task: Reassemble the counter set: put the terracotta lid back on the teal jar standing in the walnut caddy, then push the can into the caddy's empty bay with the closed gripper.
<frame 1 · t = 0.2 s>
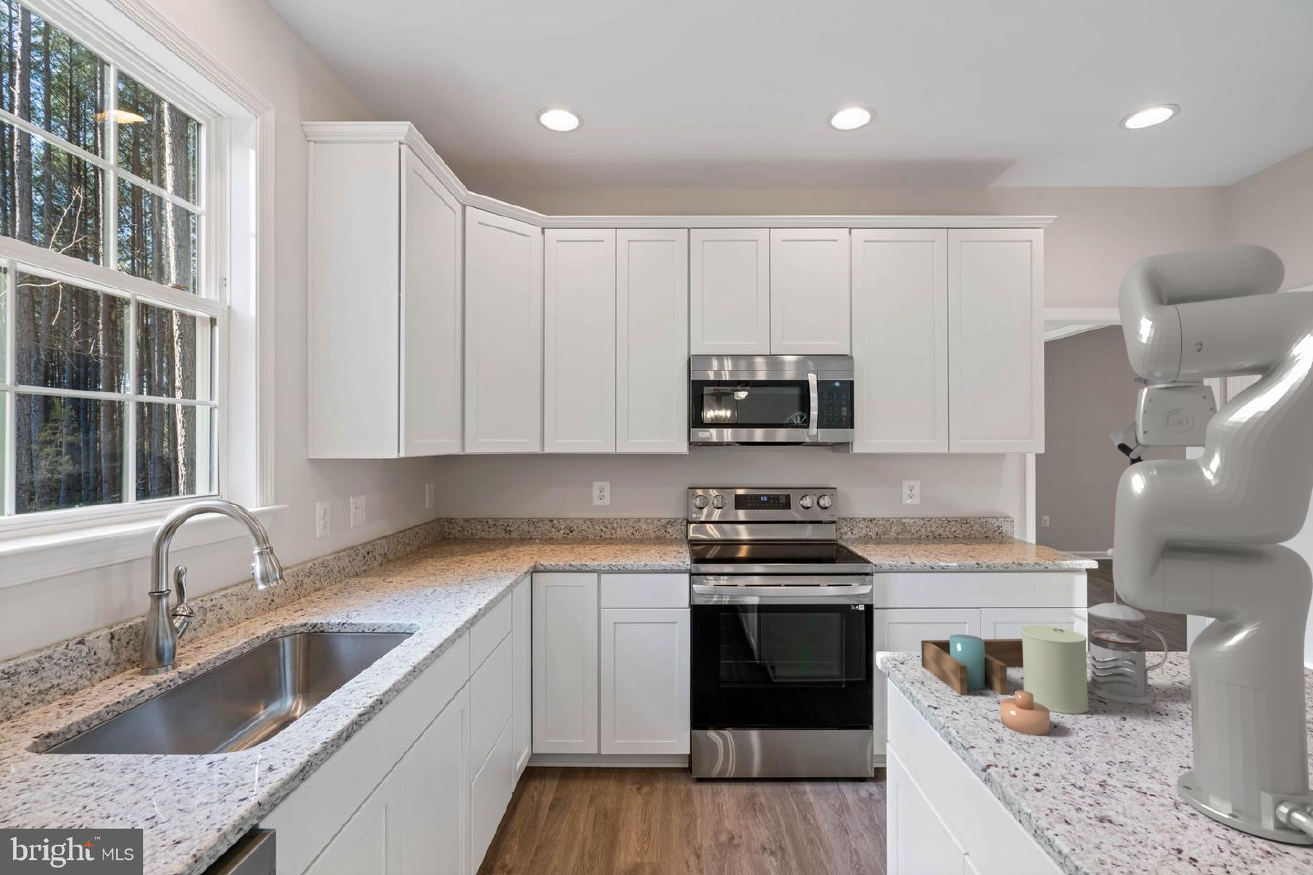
hand: (1176, 482, 96), 37 cm above the countertop, tool pointing down, fingers open, 9 cm apart
french press: (1124, 694, 101), on the countertop
can: (1055, 703, 98), on the countertop
caddy: (996, 678, 108), on the countertop
jar: (967, 683, 106), on the countertop
lid: (1025, 726, 89), on the countertop
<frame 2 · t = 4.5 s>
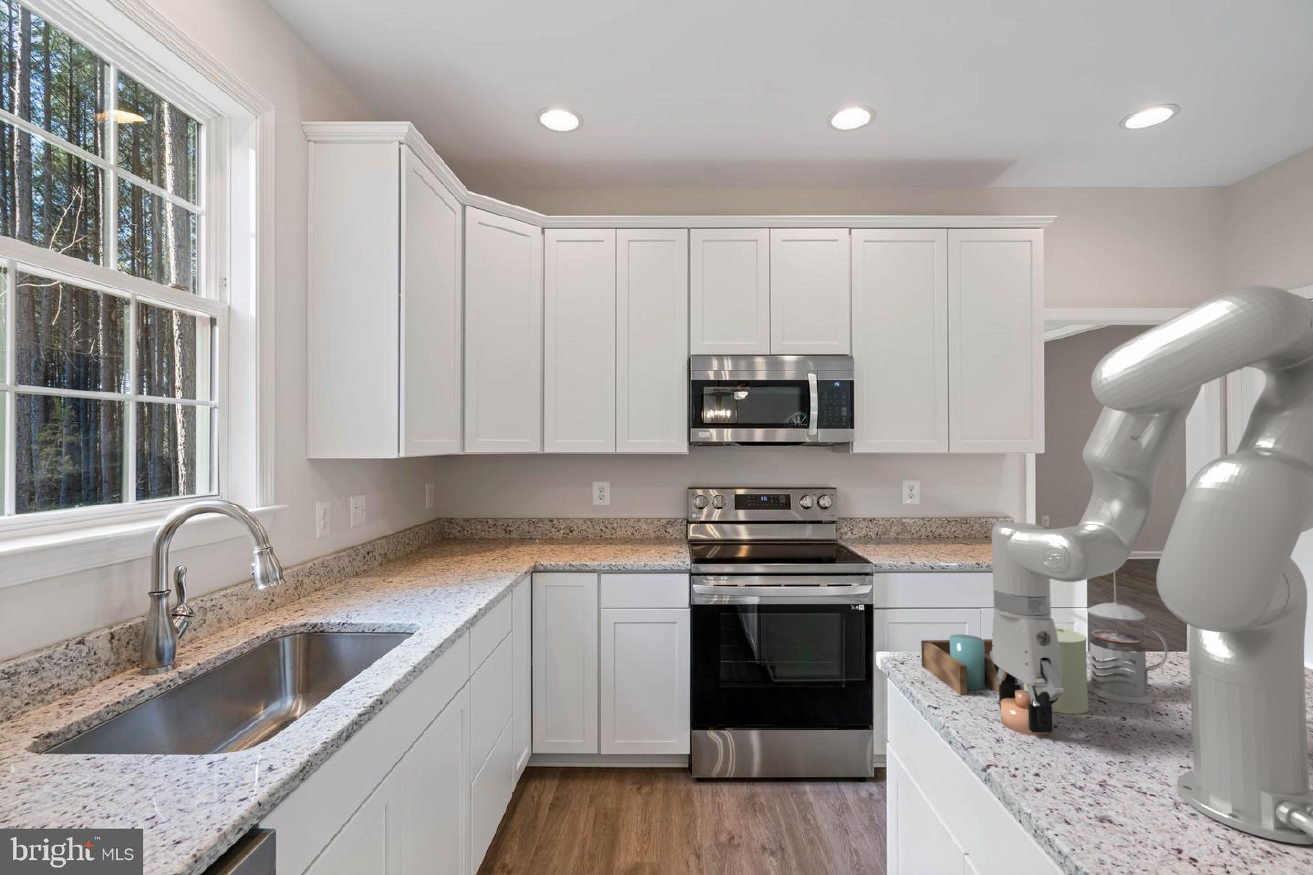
hand: (1024, 719, 89), 1 cm above the countertop, tool pointing down, fingers closed on lid, 6 cm apart
lid: (1025, 725, 89), on the countertop, touching gripper
everything else where it was.
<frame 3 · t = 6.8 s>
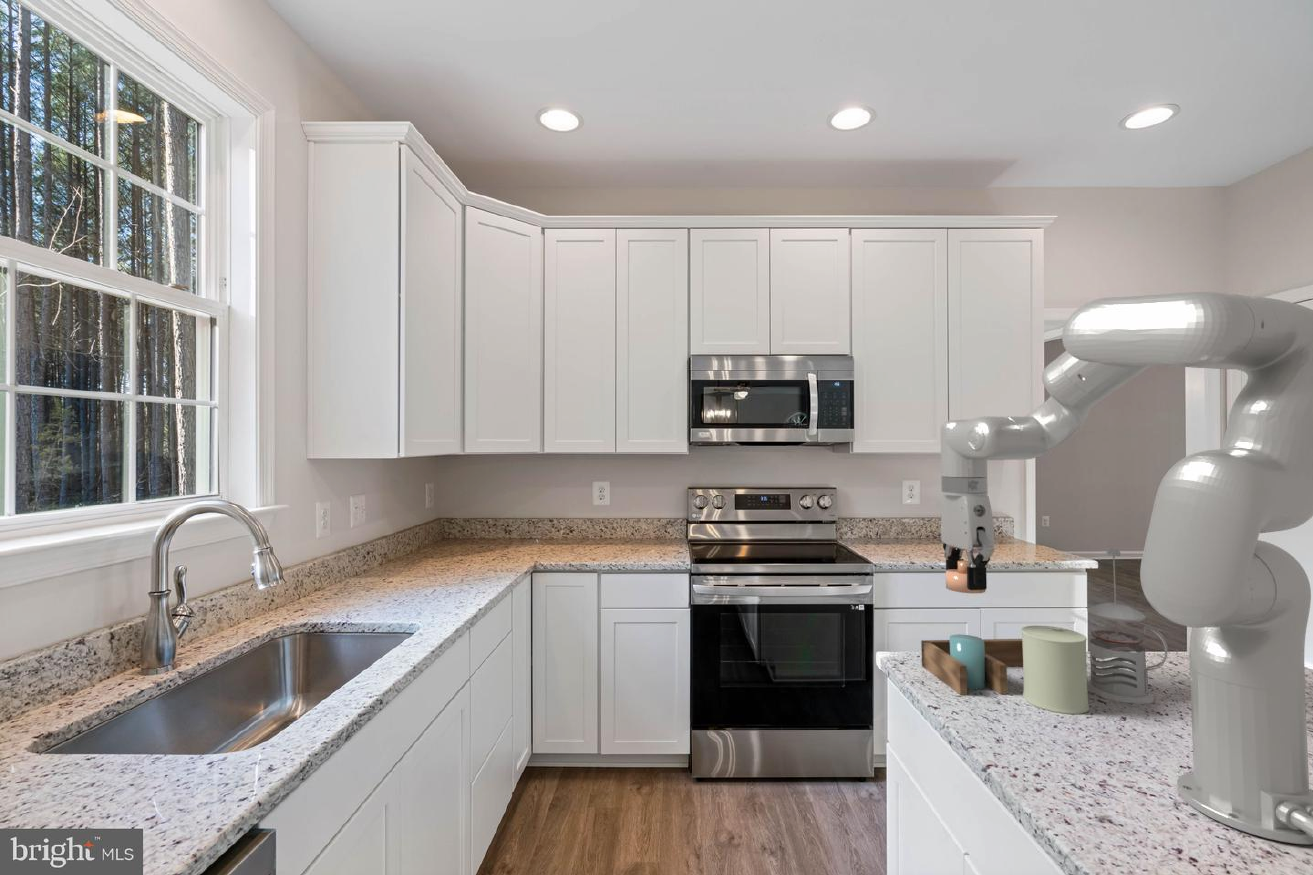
hand: (965, 583, 106), 18 cm above the countertop, tool pointing down, fingers closed on lid, 6 cm apart
lid: (965, 589, 106), point 17 cm above the countertop, touching gripper
everything else where it was.
when the fingers open (10 cm above the countertop, at t = 9.2 s): lid stays where it is, resting on jar.
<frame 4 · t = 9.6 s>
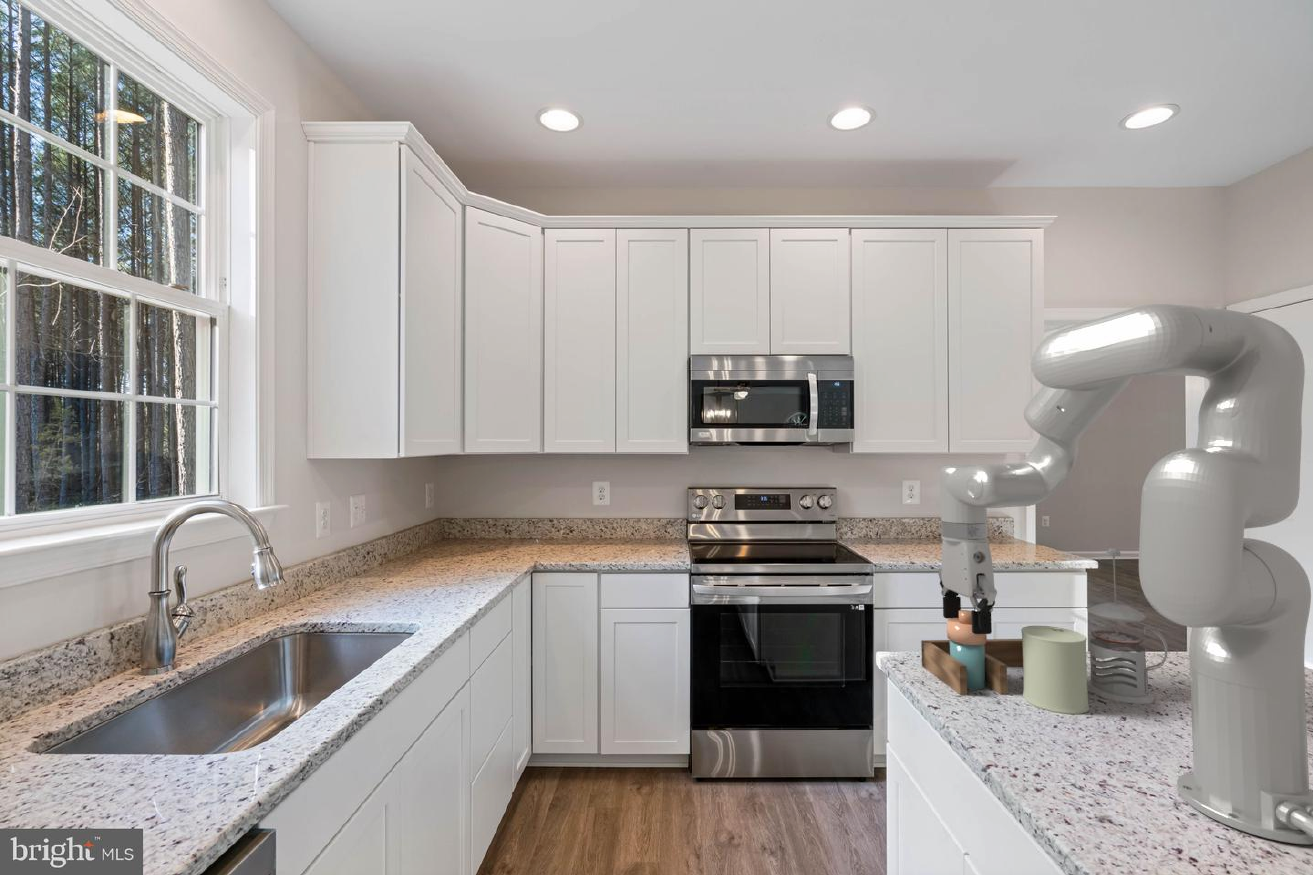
hand: (966, 625, 106), 11 cm above the countertop, tool pointing down, fingers open, 9 cm apart
lid: (966, 639, 106), point 8 cm above the countertop, touching jar
everything else where it was.
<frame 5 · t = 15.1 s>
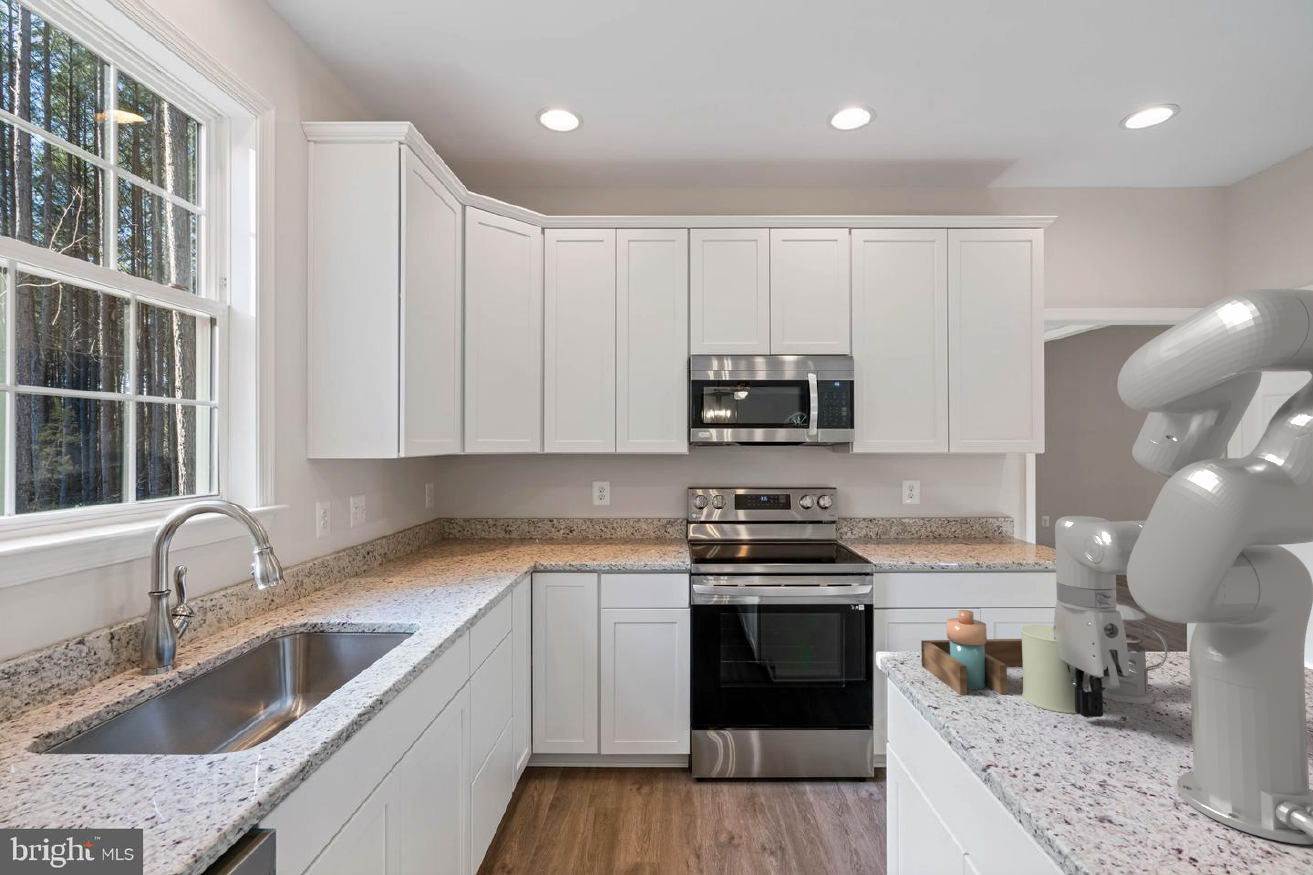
hand: (1088, 714, 90), 1 cm above the countertop, tool pointing down, fingers closed
can: (1054, 702, 98), on the countertop, touching gripper
everything else where it was.
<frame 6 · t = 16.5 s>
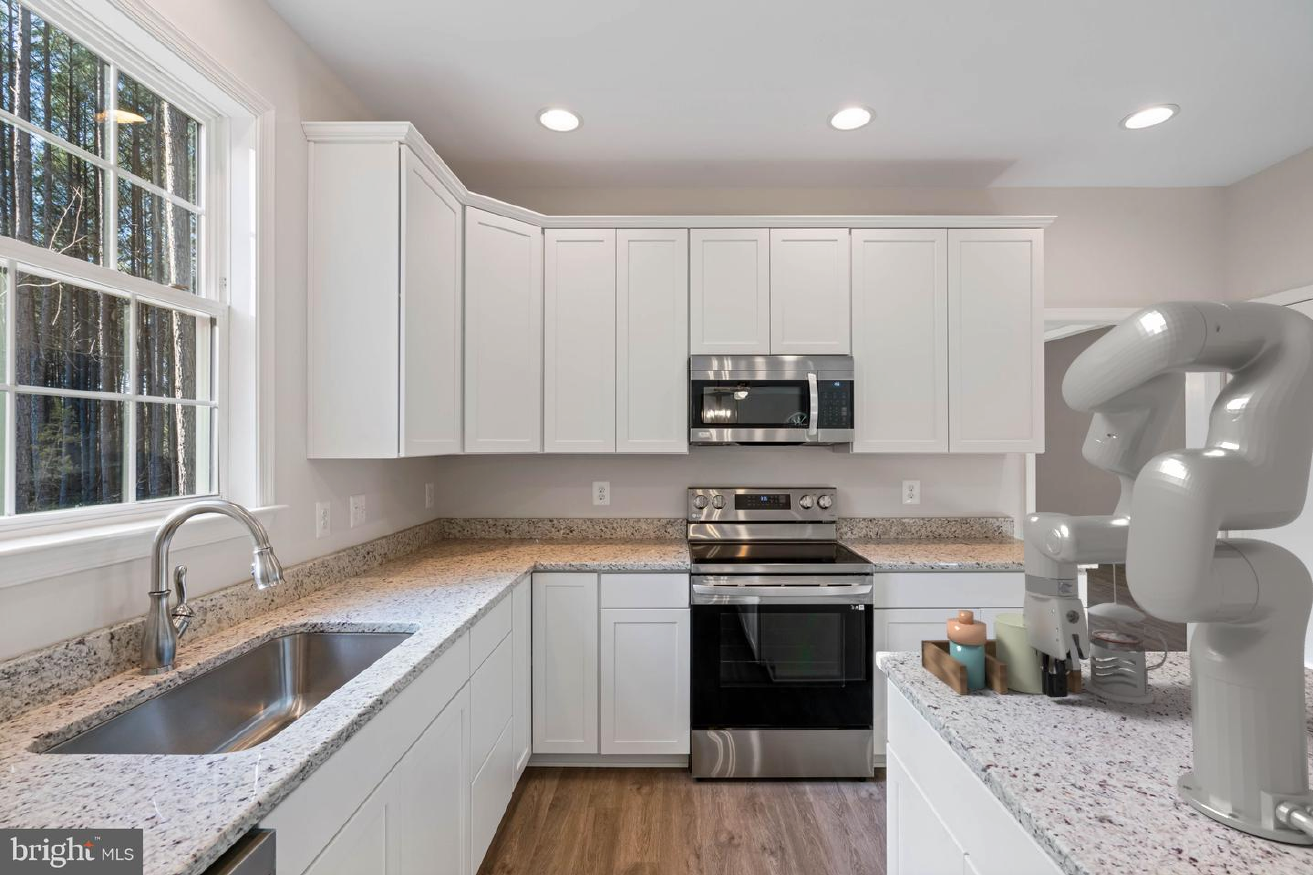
hand: (1054, 695, 98), 1 cm above the countertop, tool pointing down, fingers closed
can: (1025, 684, 105), on the countertop, touching gripper
everything else where it was.
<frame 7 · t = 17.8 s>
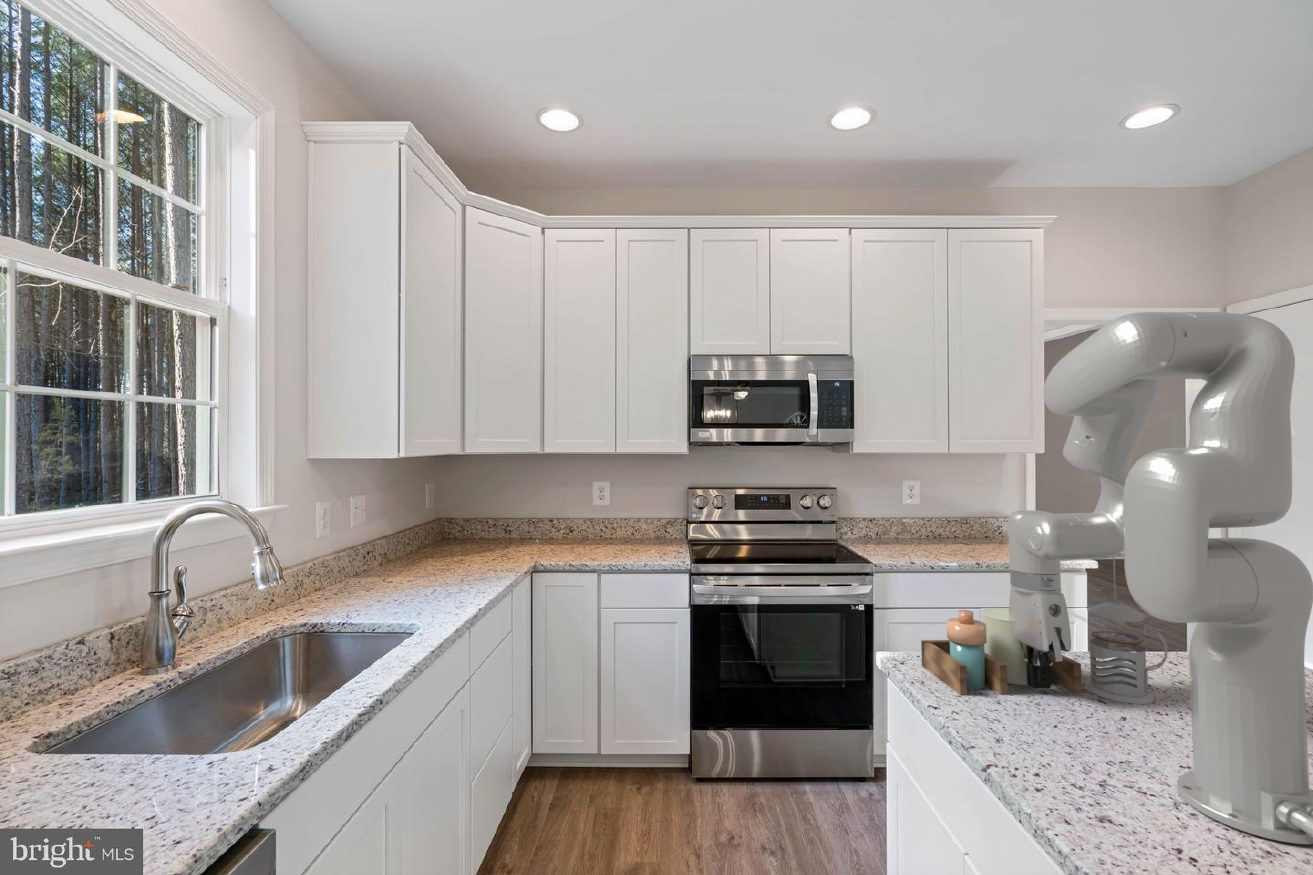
hand: (1038, 686, 102), 1 cm above the countertop, tool pointing down, fingers closed
can: (1011, 676, 109), on the countertop, touching caddy, gripper
everything else where it was.
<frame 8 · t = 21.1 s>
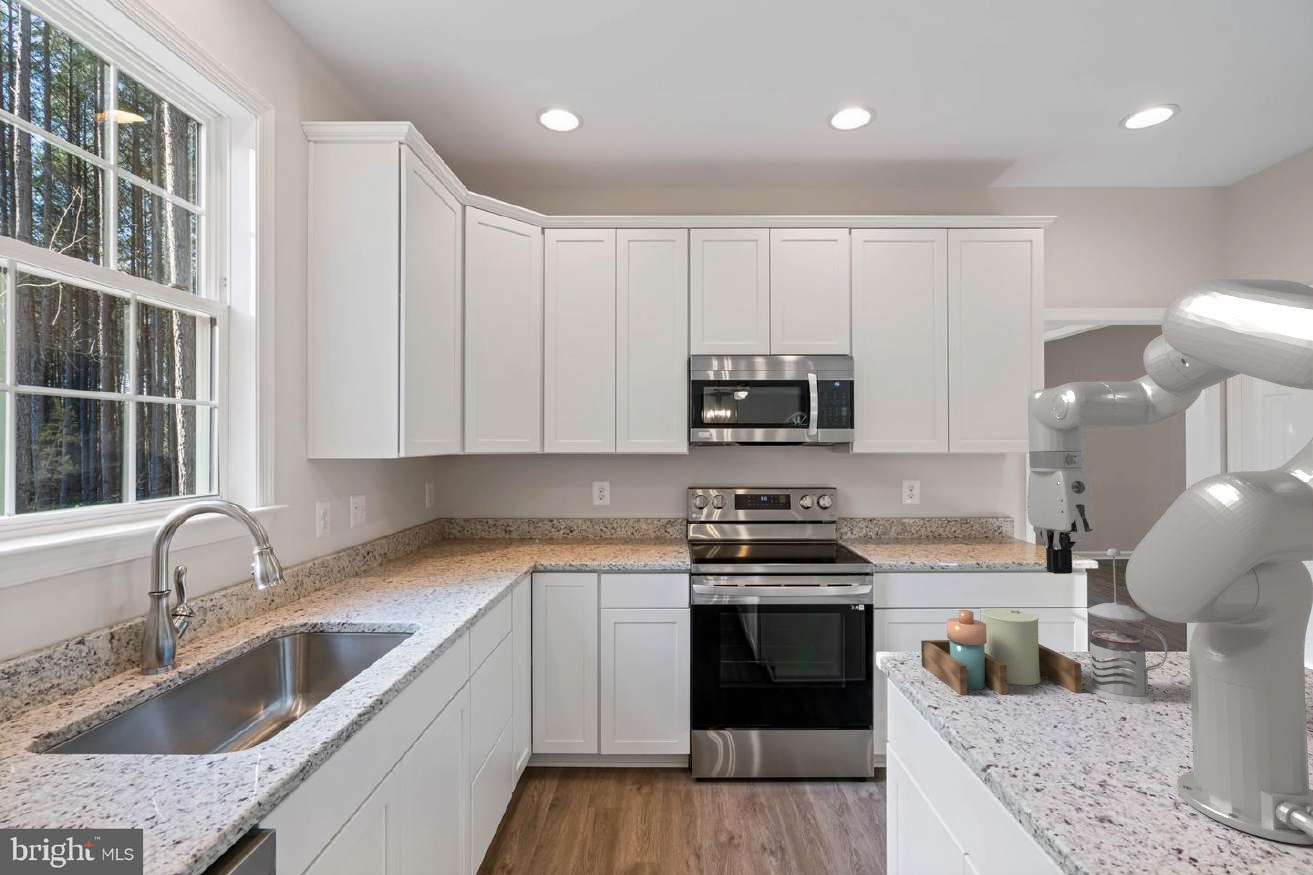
hand: (1059, 572, 96), 22 cm above the countertop, tool pointing down, fingers closed
can: (1011, 676, 109), on the countertop
everything else where it was.
at the end: lid 0.1 cm off-centre on the jar, point 8.0 cm above the jar's base; can inside the target area (0.2 cm from its centre), on the countertop; can tilted 0° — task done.
